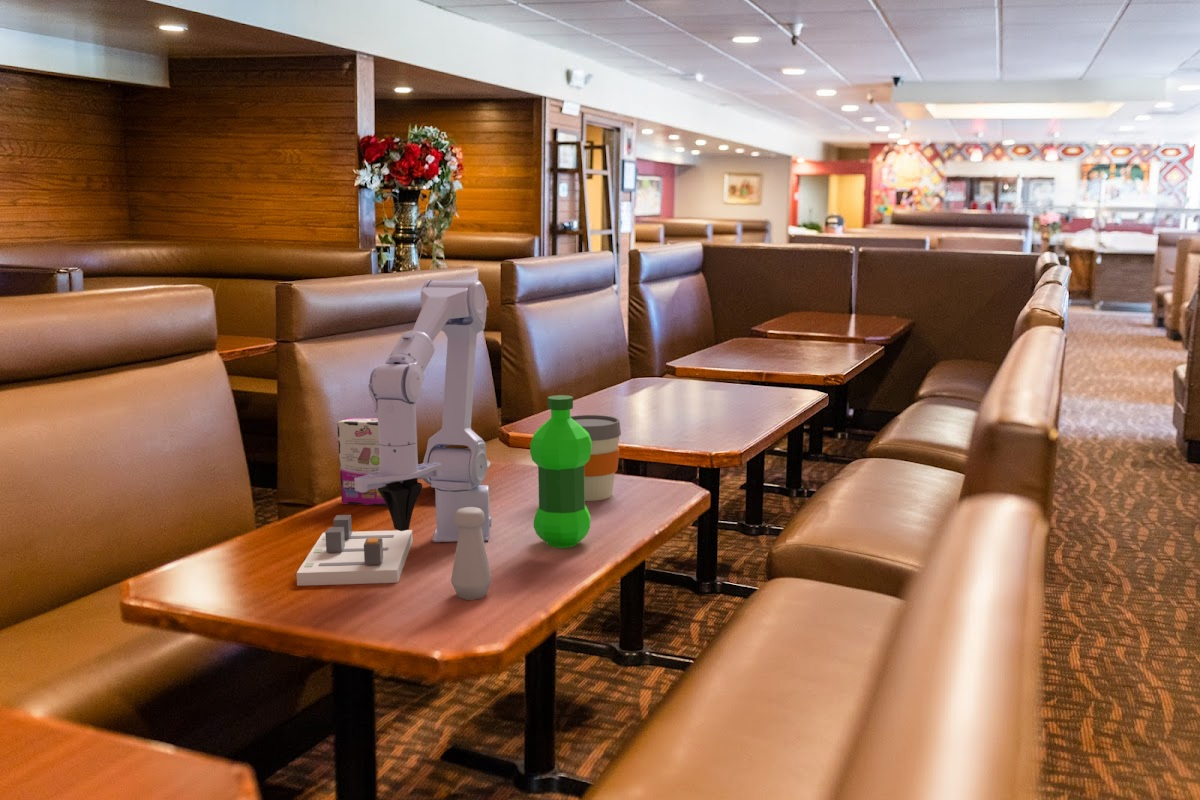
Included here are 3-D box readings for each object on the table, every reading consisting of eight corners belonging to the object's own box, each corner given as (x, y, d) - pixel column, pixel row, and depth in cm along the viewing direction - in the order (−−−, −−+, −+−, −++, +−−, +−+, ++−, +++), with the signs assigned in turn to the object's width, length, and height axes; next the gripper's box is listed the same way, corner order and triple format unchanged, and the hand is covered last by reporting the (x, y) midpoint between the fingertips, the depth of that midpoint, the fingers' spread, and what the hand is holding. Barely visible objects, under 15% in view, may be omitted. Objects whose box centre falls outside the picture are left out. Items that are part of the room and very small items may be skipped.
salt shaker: (474, 604, 153) (471, 516, 151) (443, 597, 156) (440, 511, 154) (499, 592, 158) (497, 507, 156) (469, 585, 161) (466, 501, 159)
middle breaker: (344, 545, 173) (343, 526, 173) (341, 551, 170) (340, 532, 170) (329, 546, 173) (328, 527, 173) (326, 552, 170) (325, 532, 170)
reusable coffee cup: (560, 486, 219) (559, 414, 216) (621, 487, 219) (621, 414, 216) (555, 503, 207) (554, 426, 204) (620, 503, 206) (620, 426, 204)
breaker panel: (412, 541, 183) (412, 529, 183) (397, 582, 163) (397, 569, 162) (323, 543, 182) (322, 531, 182) (297, 585, 162) (296, 572, 161)
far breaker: (351, 533, 180) (351, 514, 180) (349, 538, 177) (348, 519, 177) (337, 533, 180) (336, 515, 180) (334, 539, 177) (333, 520, 177)
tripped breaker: (383, 558, 167) (382, 536, 166) (380, 564, 164) (379, 542, 163) (367, 558, 167) (366, 536, 166) (364, 564, 164) (363, 542, 163)
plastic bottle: (593, 534, 186) (591, 392, 182) (591, 552, 176) (589, 402, 172) (535, 534, 187) (532, 392, 182) (530, 552, 176) (527, 403, 172)
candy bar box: (404, 500, 210) (401, 418, 207) (394, 507, 205) (390, 422, 202) (352, 497, 212) (347, 416, 209) (340, 504, 207) (336, 421, 205)
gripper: (422, 431, 170) (425, 514, 173) (341, 446, 160) (346, 533, 163) (448, 438, 165) (451, 523, 168) (367, 453, 155) (371, 543, 158)
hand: (401, 529), depth 165 cm, fingers closed
